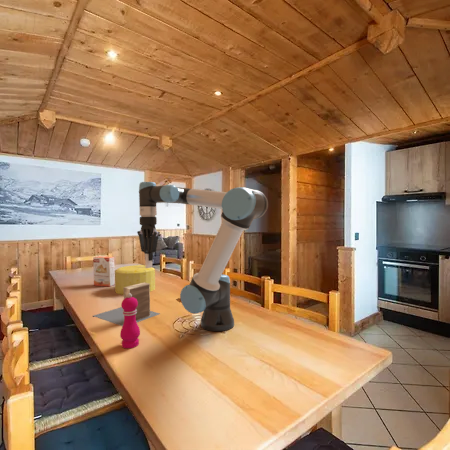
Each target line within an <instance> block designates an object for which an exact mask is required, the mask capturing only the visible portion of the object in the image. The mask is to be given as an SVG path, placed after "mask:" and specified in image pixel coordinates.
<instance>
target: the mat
mask: <svg viewBox="0 0 450 450" xmlns="http://www.w3.org/2000/svg"><path fill="white" fill-rule="evenodd" d="M123 310H124V309H123V308H122V306H121V307H117V308H114V309H110V310H107V311H104V312H101V313H98V314H93V315H92V317H93V318H98V319H100V320H103V321H106V322H109V323H112V324H115V325H118V326H120V327H122V326H123V324H124V315H123ZM159 315H161V313H160V312H155V311H152V310H150V316H148V317H145V318H143V319H140V320H137V321H136V322H137V323H139V322H142V321H145V320H148V319H150V318H153V317H155V316H159Z"/></svg>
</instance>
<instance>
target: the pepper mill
mask: <svg viewBox="0 0 450 450" xmlns="http://www.w3.org/2000/svg"><path fill="white" fill-rule="evenodd" d="M137 306H138V301H137V299H136V298H134V297H132V294H131V293H129V294H127V298H125V299H124V298H123V299H122V301H121V307H122V308H123V309H124V310H123V315H124V324H123V326H121V329H120V332H119V333H120V335H119V337H120V338H121V339H122V340H121V346H122V348H124V349H133V348H136V347H138V345H139V344H140V339H139V337H140V335H141V330H140V327H139V325H138V322H136V317H135V316H136V313H137V312H136V311H137V309H136V308H137Z"/></svg>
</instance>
